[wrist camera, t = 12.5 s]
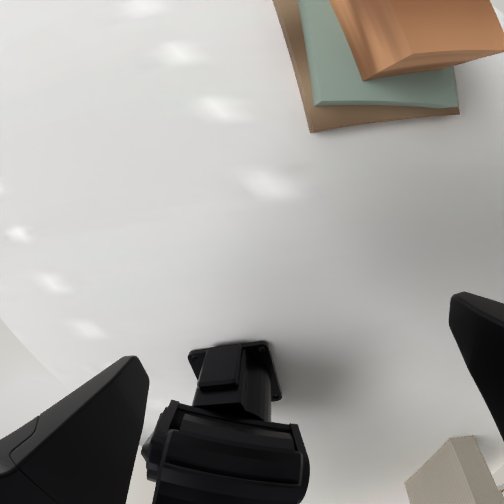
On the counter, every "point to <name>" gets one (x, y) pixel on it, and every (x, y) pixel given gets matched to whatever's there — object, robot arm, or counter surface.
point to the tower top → (347, 74)
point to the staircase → (455, 477)
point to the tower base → (339, 114)
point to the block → (417, 34)
